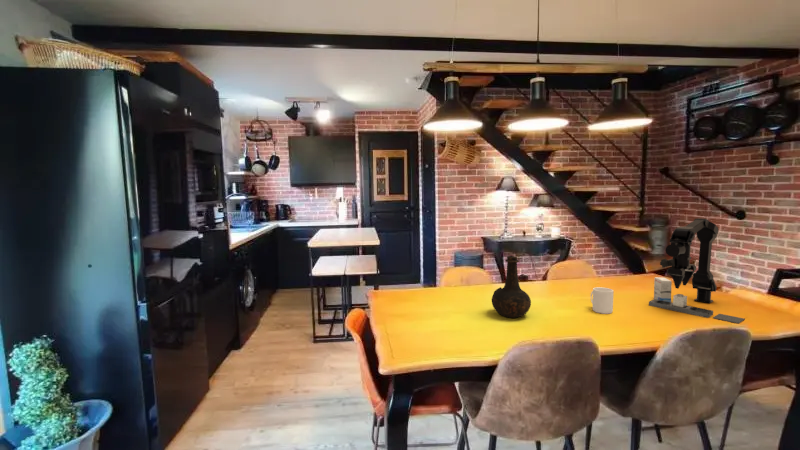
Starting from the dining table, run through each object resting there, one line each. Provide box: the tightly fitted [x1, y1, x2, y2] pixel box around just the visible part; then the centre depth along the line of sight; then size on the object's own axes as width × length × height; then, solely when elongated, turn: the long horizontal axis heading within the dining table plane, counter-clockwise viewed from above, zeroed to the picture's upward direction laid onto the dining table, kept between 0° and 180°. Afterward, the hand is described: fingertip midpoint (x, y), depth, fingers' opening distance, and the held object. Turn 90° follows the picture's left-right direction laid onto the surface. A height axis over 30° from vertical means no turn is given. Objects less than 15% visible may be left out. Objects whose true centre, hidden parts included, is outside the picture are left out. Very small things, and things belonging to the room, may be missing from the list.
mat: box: [712, 313, 746, 325], centre depth 171 cm, size 9×9×1 cm
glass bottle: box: [491, 255, 532, 319], centre depth 179 cm, size 18×18×28 cm
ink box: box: [653, 276, 673, 302], centre depth 198 cm, size 9×5×12 cm, turn 168°
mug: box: [590, 286, 614, 315], centre depth 185 cm, size 9×12×11 cm
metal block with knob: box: [672, 293, 688, 308], centre depth 184 cm, size 4×4×8 cm
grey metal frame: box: [648, 298, 714, 319], centre depth 184 cm, size 7×24×2 cm, turn 36°
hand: (680, 286), depth 183 cm, fingers open, 9 cm apart
